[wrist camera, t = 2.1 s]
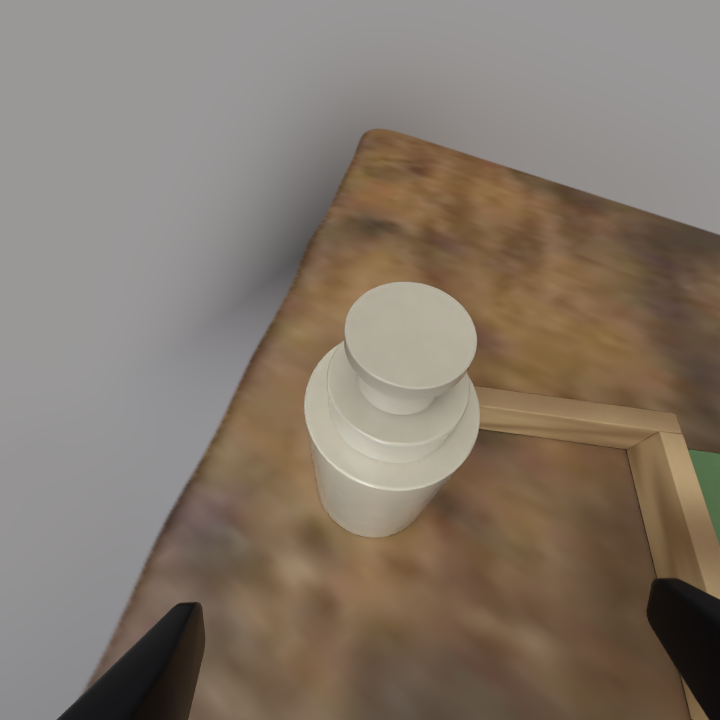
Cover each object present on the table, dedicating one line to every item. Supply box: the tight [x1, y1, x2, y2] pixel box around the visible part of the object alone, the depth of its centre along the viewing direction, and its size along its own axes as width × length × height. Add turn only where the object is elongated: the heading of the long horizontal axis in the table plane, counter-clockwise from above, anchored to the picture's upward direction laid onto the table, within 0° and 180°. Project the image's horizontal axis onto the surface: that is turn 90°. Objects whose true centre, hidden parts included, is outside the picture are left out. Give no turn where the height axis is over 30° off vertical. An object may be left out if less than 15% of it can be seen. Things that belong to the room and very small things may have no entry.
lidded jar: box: [304, 282, 480, 538], centre depth 16 cm, size 6×6×13 cm
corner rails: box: [474, 386, 720, 720], centre depth 19 cm, size 13×11×3 cm
